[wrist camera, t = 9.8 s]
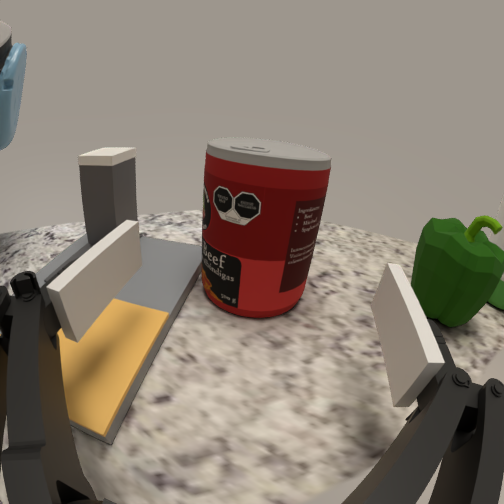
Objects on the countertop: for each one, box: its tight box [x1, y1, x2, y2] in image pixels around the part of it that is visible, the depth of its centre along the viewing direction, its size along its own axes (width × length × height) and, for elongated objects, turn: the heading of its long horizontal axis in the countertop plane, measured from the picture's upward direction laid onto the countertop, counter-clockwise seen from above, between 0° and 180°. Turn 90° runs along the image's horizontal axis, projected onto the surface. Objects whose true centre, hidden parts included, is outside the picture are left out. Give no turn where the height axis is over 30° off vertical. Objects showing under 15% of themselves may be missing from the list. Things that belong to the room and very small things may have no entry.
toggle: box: [78, 148, 138, 245], centre depth 22 cm, size 4×4×8 cm
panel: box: [0, 233, 202, 445], centre depth 18 cm, size 13×18×2 cm
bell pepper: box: [411, 216, 504, 327], centre depth 19 cm, size 8×8×10 cm
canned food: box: [202, 138, 331, 318], centre depth 20 cm, size 8×8×11 cm
